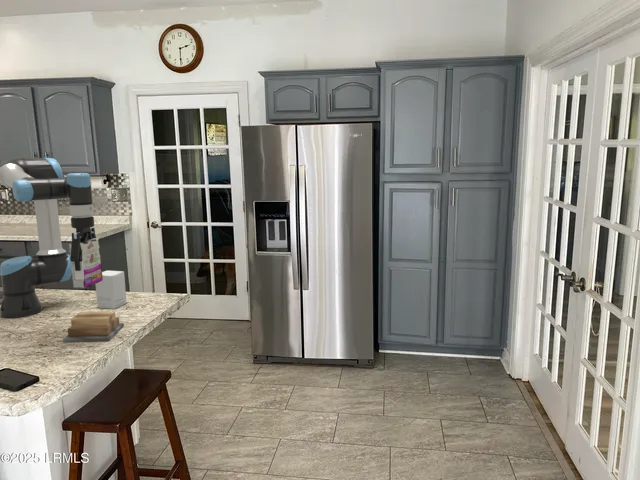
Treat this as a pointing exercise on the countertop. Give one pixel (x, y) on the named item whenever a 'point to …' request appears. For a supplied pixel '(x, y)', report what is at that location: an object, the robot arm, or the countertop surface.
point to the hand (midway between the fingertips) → (87, 275)
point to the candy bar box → (88, 264)
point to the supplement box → (111, 290)
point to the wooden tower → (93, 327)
